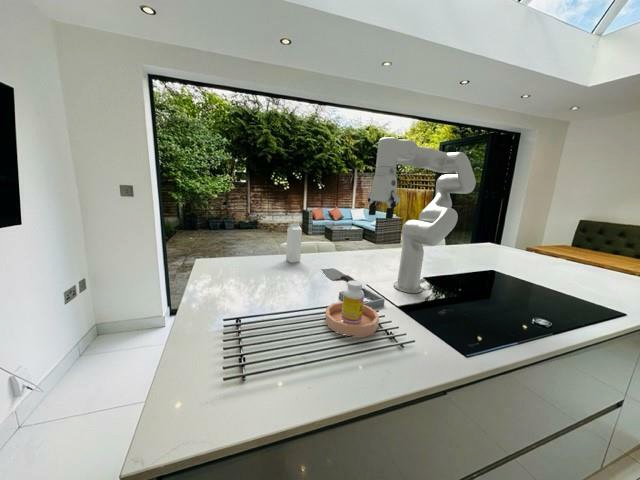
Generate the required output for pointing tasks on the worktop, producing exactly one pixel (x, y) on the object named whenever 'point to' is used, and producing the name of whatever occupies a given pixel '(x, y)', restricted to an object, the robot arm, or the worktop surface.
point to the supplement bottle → (353, 302)
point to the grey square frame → (376, 299)
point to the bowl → (359, 329)
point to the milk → (293, 243)
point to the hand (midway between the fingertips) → (380, 216)
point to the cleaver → (336, 275)
